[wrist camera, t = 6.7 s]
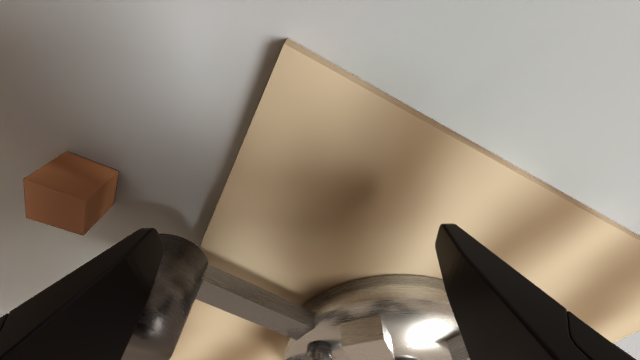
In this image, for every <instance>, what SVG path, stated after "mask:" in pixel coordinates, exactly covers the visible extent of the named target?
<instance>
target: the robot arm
mask: <svg viewBox="0 0 640 360" xmlns="http://www.w3.org/2000/svg"><path fill="white" fill-rule="evenodd" d="M435 249H436V254H437V258H438V262H439V266H440V270H441V274H442V278H443V282H444V287H445V290H446V294H447V297H448V300H449V303H450V306H451V309H452V311H453V314H454V317H455V320H456V322H457V325H458V328H459V330H460V333H461V336H462V339H463V341H464V344H465V347H466V349H467V352H468V355H469V358H470V360H636V359H635V358H633V357H632V356H630V355H629V354H628V353H626V352H625V351H623V350H622V349H620V348H619V347H618V346H616V345H615V344H613V343H612V342H610V341H609V340H608V339H606V338H605V337H604V336H602V335H601V334H600V333H598V332H597V331H595V330H594V329H593V328H591V327H590V326H589V325H587V324H586V323H585V322H583V321H582V320H581V319H579V318H578V317H577V316H575V315H574V314H573V313H572V312H570V311H567V309H566V308H565V307H564V306H562V305H561V304H560V303H558V302H557V301H556V300H554V299H553V298H552V297H550V296H549V295H548V294H547V293H545V292H544V291H543V290H541V289H540V288H539V287H537V286H536V285H535V284H533V283H532V282H531V281H530V280H528V279H527V278H526V277H524V276H523V275H522V274H520V273H519V272H518V271H516V270H515V269H514V268H513V267H511V266H510V265H509V264H507V263H506V262H505V261H503V260H502V259H501V258H499V257H498V256H497V255H496V254H494V253H493V252H492V251H490V250H489V249H488V248H486V247H485V246H484V245H482V244H481V243H480V242H479V241H477V240H476V239H475V238H473V237H472V236H471V235H469V234H468V233H467V232H465V231H464V230H463V229H462V228H460V227H459V226H458V225H456V224H453V223H445V224H441V225H440V227H439V230H438V234H437V238H436V242H435ZM163 255H164V244H163V242H162V240H161V238H160V236H159V234H158V232H157V230H156V229H154V228H141V229H139V230H137V231H136V232H134V233H133V234H131V235H129V236H128V237H126V238H125V239H123V240H122V241H120V242H118V243H117V244H115V245H114V246H112V247H111V248H109V249H108V250H106V251H104V252H103V253H101V254H100V255H98V256H97V257H95V258H93V259H92V260H90V261H89V262H87V263H86V264H84V265H82V266H81V267H79V268H78V269H76V270H75V271H73V272H71V273H70V274H68V275H67V276H65V277H64V278H62V279H60V280H59V281H57V282H56V283H54V284H53V285H51V286H49V287H48V288H46V289H45V290H43V291H42V292H40V293H38V294H37V295H35V296H34V297H32V298H31V299H29V300H27V301H26V302H24V303H23V304H21V305H20V306H18V307H16V308H15V309H13V310H12V311H10V313H9V314H5V315H4V316H2V317H1V318H0V360H121V358H122V356H123V354H124V352H125V350H126V347H127V345H128V343H129V341H130V339H131V336H132V334H133V332H134V330H135V328H136V325H137V323H138V321H139V319H140V317H141V314H142V312H143V310H144V308H145V306H146V303H147V301H148V299H149V296H150V293H151V291H152V288H153V285H154V282H155V279H156V276H157V273H158V270H159V267H160V264H161V261H162V258H163Z"/></svg>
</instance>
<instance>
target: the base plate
mask: <svg viewBox="0 0 640 360" xmlns="http://www.w3.org/2000/svg"><path fill="white" fill-rule="evenodd" d="M118 172H119V171H117V170H114V169H111V168H109V167H106V166H103V165H101V164H98V163H95V162H93V161H90V160H87V159H85V158H82V157H79V156H77V155H74V154H72V153H69V152H65V153H63V154H62V155H60V156H58V157H57V158H55V159H54V160H52V161H51V162H49V163H48V164H46V165H45V166H43V167H41V168H40V169H38V170H37V171H35V172H34V173H32V174H31V175H29V176H28V177H26V178H24V179H23V182H24V195H25V209H26V218H29V219H32V220H35V221H39V222H42V223H45V224H48V225H51V226H54V227H58V228H61V229H64V230H67V231H70V232H73V233H76V234H80V235H84V234H85V233H86V232H87V231H88V230H89V229H90V228H91V227H92V226H93V225H94V224H95V223H96V222H97V221H98V220H99V219H100V218H101V217H102V216H103V215H104V214H105V213H106V211H107V210H108V209H109V208H110V207H111V206H112V205H113V204H114V199H115V192H116V186H117V179H118ZM445 223H453V224H456V225H458V226H459V227H460V228H462V229H463V230H464V231H465V232H467V233H468V234H469V235H471V236H472V237H473V238H475V239H476V240H477V241H479V242H480V243H481V244H482V245H484V246H485V247H486V248H488V249H489V250H490V251H492V252H493V253H494V254H496V255H497V256H498V257H499V258H501V259H502V260H503V261H505V262H506V263H507V264H509V265H510V266H511V267H513V268H514V269H515V270H516V271H518V272H519V273H520V274H522V275H523V276H524V277H526V278H527V279H528V280H530V281H531V282H532V283H533V284H535V285H536V286H537V287H539V288H540V289H541V290H543V291H544V292H545V293H547V294H548V295H549V296H550V297H552V298H553V299H554V300H556V301H557V302H558V303H560V304H561V305H562V306H564V307H565V308H566V309H567V311H570V312H572V313H573V314H574V315H575V316H577V317H578V318H579V319H581V320H582V321H583V322H585V323H586V324H587V325H589V326H590V327H591V328H593V329H594V330H595V331H597V332H598V333H600V334H601V335H602V336H604V337H605V338H606V339H608V340H609V341H610V342H612V343H614V342H616V341H618V340H621V339H623V338H625V337H627V336H629V335H632V334H634V333H636V332H638V331H640V236H639V235H637V234H636V233H634V232H632V231H630V230H628V229H627V228H625V227H623V226H621V225H620V224H618V223H616V222H614V221H612V220H611V219H609V218H607V217H605V216H604V215H602V214H600V213H598V212H596V211H595V210H593V209H591V208H589V207H588V206H586V205H584V204H582V203H580V202H579V201H577V200H575V199H573V198H572V197H570V196H568V195H566V194H564V193H563V192H561V191H559V190H557V189H555V188H554V187H552V186H550V185H548V184H547V183H545V182H543V181H541V180H539V179H538V178H536V177H534V176H532V175H531V174H529V173H527V172H525V171H523V170H522V169H520V168H518V167H516V166H515V165H513V164H511V163H509V162H507V161H506V160H504V159H502V158H500V157H499V156H497V155H495V154H493V153H491V152H490V151H488V150H486V149H484V148H482V147H481V146H479V145H477V144H475V143H474V142H472V141H470V140H468V139H466V138H465V137H463V136H461V135H459V134H458V133H456V132H454V131H452V130H450V129H449V128H447V127H445V126H443V125H442V124H440V123H438V122H436V121H434V120H433V119H431V118H429V117H427V116H426V115H424V114H422V113H420V112H418V111H417V110H415V109H413V108H411V107H409V106H408V105H406V104H404V103H402V102H401V101H399V100H397V99H395V98H393V97H392V96H390V95H388V94H386V93H385V92H383V91H381V90H379V89H377V88H376V87H374V86H372V85H370V84H369V83H367V82H365V81H363V80H361V79H360V78H358V77H356V76H354V75H353V74H351V73H349V72H347V71H345V70H344V69H342V68H340V67H338V66H337V65H335V64H333V63H331V62H329V61H328V60H326V59H324V58H322V57H320V56H319V55H317V54H315V53H313V52H312V51H310V50H308V49H306V48H304V47H303V46H301V45H299V44H297V43H296V42H294V41H292V40H290V39H287V40H286V41H285V43H284V45H283V47H282V50H281V52H280V55H279V57H278V59H277V62H276V64H275V67H274V69H273V71H272V74H271V76H270V79H269V81H268V83H267V86H266V88H265V91H264V93H263V95H262V98H261V100H260V103H259V105H258V108H257V110H256V112H255V115H254V117H253V120H252V122H251V124H250V127H249V129H248V132H247V134H246V136H245V139H244V141H243V144H242V146H241V149H240V151H239V153H238V156H237V158H236V161H235V163H234V165H233V168H232V170H231V173H230V175H229V177H228V180H227V182H226V185H225V187H224V190H223V192H222V194H221V197H220V199H219V202H218V204H217V206H216V209H215V211H214V214H213V216H212V218H211V221H210V223H209V226H208V228H207V230H206V233H205V235H204V238H203V240H202V243H201V245H200V247H199V248H200V249H201V250H202V251H203V252H204V254H205V255H206V257H207V259H208V264H210V265H212V266H214V267H216V268H218V269H221V270H223V271H225V272H227V273H229V274H232V275H234V276H236V277H238V278H240V279H243V280H245V281H247V282H249V283H251V284H253V285H256V286H258V287H260V288H262V289H264V290H267V291H269V292H271V293H273V294H275V295H278V296H280V297H282V298H284V299H286V300H288V301H291V302H293V303H295V304H297V305H299V306H303V305H304V304H305V303H306V302H308V301H309V300H311V299H312V298H314V297H315V296H317V295H319V294H321V293H322V292H324V291H326V290H328V289H331V288H334V287H336V286H339V285H341V284H345V283H349V282H352V281H356V280H361V279H366V278H371V277H380V276H394V275H409V276H422V277H429V278H436V279H440V280H443V278H442V274H441V270H440V266H439V262H438V258H437V254H436V249H435V242H436V238H437V234H438V230H439V227H440V225H441V224H445ZM286 338H287V336H285V335H283V334H280V333H278V332H275V331H273V330H270V329H268V328H265V327H263V326H260V325H258V324H256V323H253V322H251V321H248V320H246V319H243V318H241V317H238V316H236V315H233V314H231V313H228V312H226V311H223V310H221V309H219V308H216V307H214V306H211V305H209V304H206V303H204V302H201V301H199V300H196V299H195V301H194V304H193V306H192V308H191V311H190V313H189V316H188V318H187V321H186V323H185V325H184V328H183V330H182V333H181V335H180V338H179V340H178V342H177V345H176V347H175V350H174V352H173V354H172V357H171V358H170V359H169V360H284V356H285V347H286Z"/></svg>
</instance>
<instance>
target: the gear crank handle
mask: <svg viewBox="0 0 640 360" xmlns="http://www.w3.org/2000/svg"><path fill="white" fill-rule="evenodd" d="M159 236H160V238H161V240H162V242H163V244H164V255H163V258H162V261H161V264H160V267H159V270H158V273H157V276H156V279H155V282H154V285H153V288H152V291H151V293H150V296H149V299H148V301H147V303H146V306H145V308H144V310H143V312H142V314H141V317H140V319H139V321H138V323H137V325H136V328H135V330H134V332H133V334H132V336H131V339H130V341H129V343H128V345H127V347H126V350H125V352H124V354H123V356H122V358H121V360H169V359H170V358H171V357H172V354H173V352H174V350H175V347H176V345H177V342H178V340H179V338H180V335H181V333H182V330H183V328H184V325H185V323H186V321H187V318H188V316H189V313H190V311H191V308H192V306H193V304H194V301H195V299H196V300H199V301H201V302H204V303H206V304H209V305H211V306H214V307H216V308H219V309H221V310H223V311H226V312H228V313H231V314H233V315H236V316H238V317H241V318H243V319H246V320H248V321H251V322H253V323H256V324H258V325H260V326H263V327H265V328H268V329H270V330H273V331H275V332H278V333H280V334H283V335H285V336H287V338H286V347H285V356H284V360H470V358H469V355H468V352H467V349H466V347H465V344H464V341H463V339H462V336H461V333H460V330H459V328H458V325H457V322H456V320H455V317H454V314H453V311H452V309H451V306H450V303H449V300H448V297H447V294H446V290H445V287H444V282H443V280H440V279H436V278H429V277H422V276H409V275H394V276H380V277H371V278H366V279H361V280H356V281H352V282H349V283H345V284H341V285H339V286H336V287H334V288H331V289H328V290H326V291H324V292H322V293H321V294H319V295H317V296H315V297H314V298H312V299H311V300H309V301H308V302H306V303H305V304H304V305H303V306H299V305H297V304H295V303H293V302H291V301H288V300H286V299H284V298H282V297H280V296H278V295H275V294H273V293H271V292H269V291H267V290H264V289H262V288H260V287H258V286H256V285H253V284H251V283H249V282H247V281H245V280H243V279H240V278H238V277H236V276H234V275H232V274H229V273H227V272H225V271H223V270H221V269H218V268H216V267H214V266H212V265H210V264H208V259H207V257H206V255H205V254H204V252H203V251H202V250H201V249H200V248H199V247H198V246H196V245H195V244H194V243H192V242H190V241H188V240H186V239H184V238H182V237H179V236H175V235H170V234H159Z"/></svg>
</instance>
